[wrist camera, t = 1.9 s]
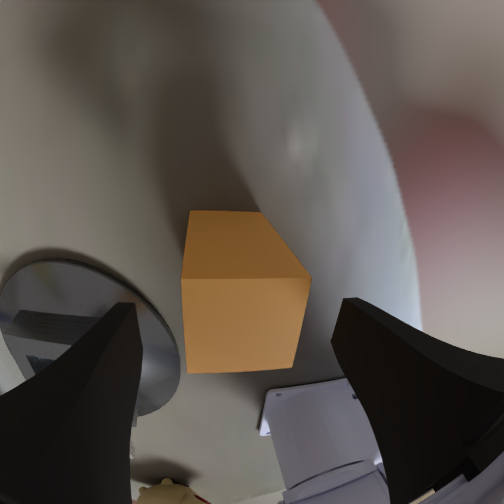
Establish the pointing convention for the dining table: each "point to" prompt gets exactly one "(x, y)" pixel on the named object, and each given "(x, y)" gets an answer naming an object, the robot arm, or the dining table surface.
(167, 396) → the grey piece
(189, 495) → the tan rounded figure
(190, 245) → the orange rectangular block
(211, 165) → the dining table surface
